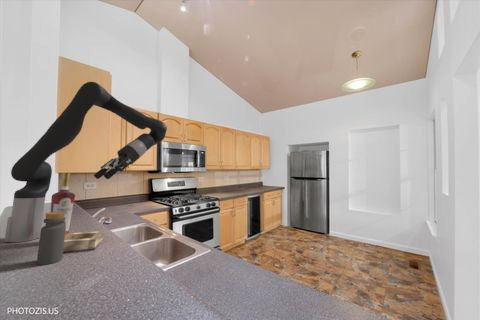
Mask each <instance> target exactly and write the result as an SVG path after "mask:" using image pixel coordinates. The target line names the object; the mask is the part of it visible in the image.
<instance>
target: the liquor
mask: <svg viewBox="0 0 480 320" xmlns="http://www.w3.org/2000/svg"><path fill="white" fill-rule="evenodd" d="M70 180H71V173H69V172H68V173H67V172H66V173H65V172H63V173H61V184H60V187H59V191H58V192H55V193H54V194H52V195H51V201H50V212H65V215H64V217H65V221H63V224H64V225H66V231H65V235H67V234H68V233H70V227H71V221H72V215H73V211H74V210H73V209H74V206H75V205H74V204H75V199H76V194H75V193H74V192H71V191H70Z"/></svg>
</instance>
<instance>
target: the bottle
mask: <svg viewBox="0 0 480 320" xmlns="http://www.w3.org/2000/svg"><path fill="white" fill-rule="evenodd" d="M64 215H65V212H51V211H50V212H46V213H45V218H43V224H45V225H44V226H42V227H41V233H40V237H39V243H38V249H37V259H36V264H37V265H39V266H45V265H52V264H55V263H57V262H60V261H62V259H63V254H64V253H63V248H64V240H65V231H66V225H64V224H63V221H65V217H64Z"/></svg>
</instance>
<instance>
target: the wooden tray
mask: <svg viewBox="0 0 480 320" xmlns="http://www.w3.org/2000/svg"><path fill="white" fill-rule="evenodd" d="M104 233H105V232H104V230H100V231H84V232H69V233H68V234H67V235H65V240H64V248H63V254H66V253H77V252H86V251H95V250H96V249H97V248H98V247H99V245H100V244H101V243H102V242H103V241H104V236H105V235H104Z"/></svg>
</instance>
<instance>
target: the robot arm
mask: <svg viewBox="0 0 480 320" xmlns="http://www.w3.org/2000/svg"><path fill="white" fill-rule="evenodd" d="M94 106H96V107H99V108H101V109H104V110H107V111H109V112H111V113H113V114H115V115H116V116H118V117H120V118H121V119H123V120H125V121H126V122H128V123H129V124H130V125H132V126H134V127H136V128H137V129H140V130H145V129H150V130H149V133H146V132H145V133H144V132H143V133H142V134H140V135H139V136H137V137H135V139H133V140H132V141H130V142H128V143H126V145H124V146H123V147H122V148H120V149H119V150H117V152H116V153H117V156H118V157H115V158H110V160H108V161H107V162H105V163H104V164H103V165H102V166H100V170H98V171H96V172H95V173H94V174H93V177H94V178H95V179H96V180H97V179H98V180H99V179H100V178H102V177H104V178H105V180H109V179H111V178H112V177H113V176H115V174H117V173H120V172H123V171H124V170H125V169H126V168H128V167H129V166H130V165H133V164H134V163H135V162H137V161H138V160H139V159H140V158H141V157H142V156H144V155H145V153H147V152H148V150H150V149H151V148H152V147H153V146H156V145H157V144H160V143H161V142H162V141H163V140H164V139H165V137H166V135H167V131H168V128H167V127H168V126H167V125H166V124H165V123H164V122H163V121H162V120H159V119H156V118H154V117H151V116H148V115H146V114H143V113H142V112H140V111H139V110H137V109H135V108H134V107H131V106H128V105H126V104H124V103H123V102H121V101H119V100H118V99H117V98H115V97H114V96H113V95H112V94H110V93H109V92H108V91H107V90H106V89H105V88H104V87H103V86H102V85H100V84H99V83H98V82H96V81H87V82H85V83H83V84H82V85H81V86H80V87H79V89H78V90H77V92H76V94H75V95H74V97H73V98H72V100H70V103H69V104H68V105H67V106H66V108H65V109H64V110H63V111H62V112H61V114H60V115H59V116H58V117H57V118H56V119H55V120H54V122H53V123H51V125H50V126H49V127H48V129H46V131H45V133H43V135H42V136H41V137H40V138H39V139H38V140H37V141H36V143H35V144H34V145H33V146H32V147H31V148H30V149H28V151H27V152H26V153H24V154H23V155H22V156H21V157H20V158H19V159H18V160H17V161H16V162H15V163H14V164H13V166H12V168H11V170H10V175H11V178H12V179H13V180H15V181H18V182H25V185H24V186H23V187H21V188H20V189H17V190H16V191H14V193H13V200H12V208H11V214H10V216H9V217H8V218H7V220H6V221H7V222H6V227H5V235H4V243H20V242H21V243H22V242H29V241H33V240H38V239H40V233H41V228H42V227H43V226H42V225H43V220H44V218H43V217H44V211H45V201H46V196H47V193H48V191H49V190H50V189H49V188H50V187H51V186H50V185H51V180H52V176H53V175H52V173H53V169H52V166H51V164H50V163H49V162H46V161H47V160H48V158H49V157H50V156H52V155H53V154H55V153H57V152H59V151H61V150H63V149H64V148H65V147H67V146H69V145H70V144H72V143H73V142H74V140H75V139H76V138H77V137H78V136H79V134H80V132H81V131H82V128H83V126H84V125H83V124H84V122H85V118H86V115H87V113H88V112H89V111H90V110H91V109H92V107H94Z"/></svg>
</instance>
